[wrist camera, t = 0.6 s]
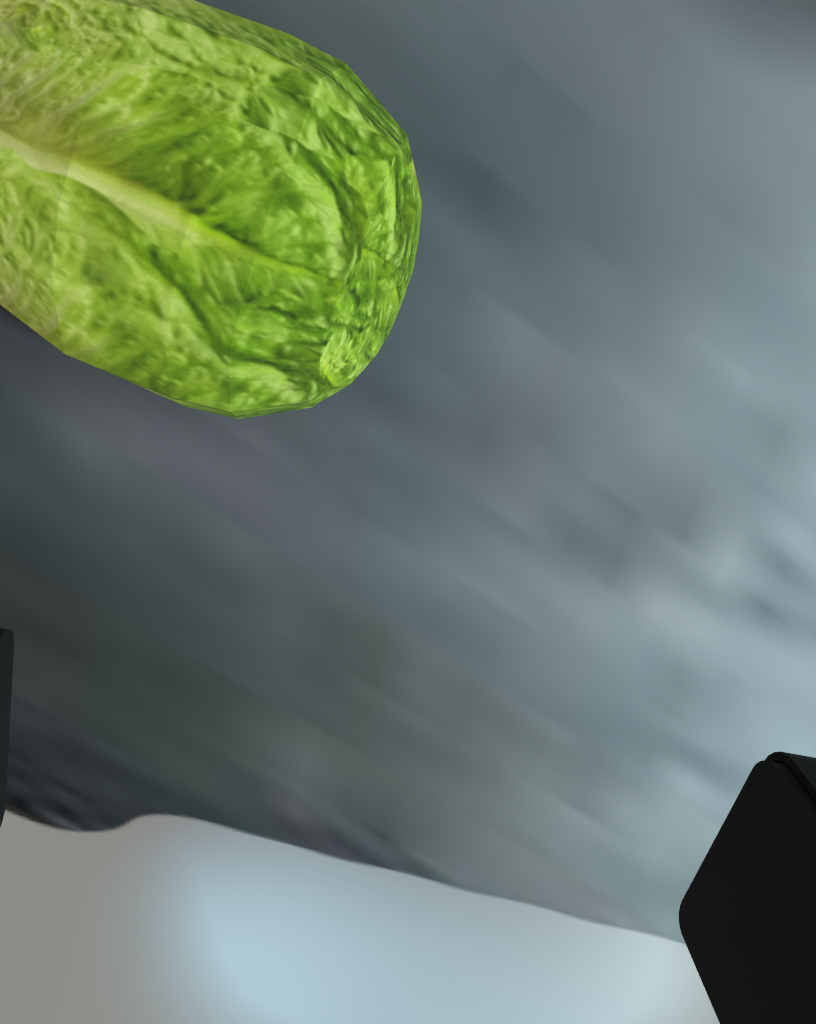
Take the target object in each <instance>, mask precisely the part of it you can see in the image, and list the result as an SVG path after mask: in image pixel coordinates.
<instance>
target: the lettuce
mask: <svg viewBox="0 0 816 1024" xmlns="http://www.w3.org/2000/svg"><path fill="white" fill-rule="evenodd" d="M421 212H422V200H421V196H420V191H419V186H418V182H417V177H416V173H415V168H414V164H413V159H412V154H411V150H410V145H409V141H408V136H407V134H406V133H405V132H404V131H403V129H402V128H401V127H400V126H399V125H398V124H397V122H396V121H395V120H394V119H393V118H392V116H391V115H390V114H389V113H388V112H387V111H386V109H385V108H384V107H383V106H382V105H381V104H380V102H379V101H378V100H377V99H376V98H375V96H374V95H373V94H372V93H371V92H370V91H369V89H368V88H367V87H366V86H365V85H364V84H363V82H362V81H361V80H360V79H359V78H358V76H357V75H356V74H355V73H354V72H353V71H352V69H351V68H350V67H349V66H348V65H347V64H346V63H344V62H342V61H340V60H338V59H336V58H335V57H333V56H331V55H329V54H327V53H325V52H323V51H321V50H319V49H317V48H315V47H313V46H311V45H309V44H307V43H305V42H303V41H301V40H300V39H298V38H296V37H294V36H292V35H290V34H288V33H285V32H282V31H279V30H276V29H274V28H271V27H268V26H265V25H262V24H259V23H257V22H254V21H251V20H248V19H245V18H242V17H240V16H237V15H234V14H231V13H228V12H225V11H223V10H220V9H217V8H214V7H211V6H208V5H205V4H203V3H200V2H197V1H194V0H0V305H1V306H3V307H4V308H5V309H7V310H8V311H9V312H11V313H12V314H13V315H15V316H16V317H17V318H18V319H20V320H21V321H22V322H24V323H25V324H26V325H28V326H29V327H30V328H32V329H33V330H34V331H35V332H37V333H38V334H39V335H41V336H42V337H43V338H45V339H46V340H47V341H49V342H50V343H51V344H53V345H54V346H55V347H56V348H58V349H59V350H60V351H62V352H63V353H64V354H67V355H69V356H71V357H74V358H76V359H78V360H81V361H83V362H86V363H88V364H90V365H93V366H95V367H98V368H100V369H102V370H105V371H107V372H109V373H112V374H114V375H117V376H119V377H121V378H123V379H125V380H128V381H130V382H132V383H134V384H136V385H139V386H141V387H143V388H145V389H147V390H150V391H152V392H154V393H156V394H158V395H161V396H163V397H165V398H167V399H170V400H172V401H174V402H176V403H178V404H181V405H183V406H186V407H190V408H194V409H199V410H203V411H207V412H211V413H216V414H220V415H224V416H228V417H232V418H237V419H241V418H247V417H254V416H260V415H266V414H272V413H279V412H285V411H291V410H297V409H303V408H310V407H313V406H314V405H316V404H318V403H319V402H321V401H323V400H324V399H326V398H328V397H329V396H331V395H333V394H334V393H336V392H338V391H339V390H341V389H343V388H345V387H346V386H348V385H350V384H351V383H352V382H353V381H354V379H355V378H356V377H357V376H358V375H359V374H360V373H361V372H362V371H363V370H364V368H365V367H366V366H367V365H368V364H369V363H370V362H371V361H372V360H373V359H374V357H375V356H376V355H377V353H378V352H379V350H380V348H381V346H382V345H383V343H384V341H385V340H386V338H387V336H388V335H389V333H390V331H391V328H392V326H393V324H394V322H395V319H396V317H397V314H398V311H399V309H400V306H401V304H402V301H403V298H404V295H405V293H406V290H407V287H408V284H409V282H410V278H411V275H412V272H413V268H414V262H415V257H416V252H417V247H418V240H419V231H420V222H421Z"/></svg>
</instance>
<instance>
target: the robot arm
mask: <svg viewBox="0 0 816 1024" xmlns="http://www.w3.org/2000/svg"><path fill="white" fill-rule="evenodd" d="M13 654H14V635H13V632H12V631H11V630H9V629H3V628H0V826H1V823H2V820H3V816H4V812H5V805H6V787H7V768H8V749H9V730H10V711H11V692H12V673H13ZM679 924H680V929H681V933H682V936H683V938H684V940H685V943H686V945H687V947H688V950H689V952H690V954H691V957H692V959H693V961H694V964H695V966H696V968H697V971H698V973H699V976H700V978H701V980H702V983H703V985H704V987H705V989H706V992H707V994H708V996H709V999H710V1001H711V1004H712V1006H713V1008H714V1010H715V1013H716V1015H717V1017H718V1020H719V1022H720V1024H816V758H813V757H807V756H802V755H796V754H790V753H785V752H774V753H772V754H771V755H769V756H768V757H767V758H766V759H765V761H760V762H758V763H757V764H756V765H755V766H754V768H753V769H752V771H751V773H750V775H749V777H748V778H747V780H746V782H745V784H744V786H743V788H742V790H741V792H740V793H739V795H738V797H737V799H736V801H735V803H734V805H733V806H732V808H731V810H730V812H729V814H728V816H727V818H726V820H725V821H724V823H723V825H722V827H721V829H720V831H719V833H718V835H717V836H716V838H715V840H714V842H713V844H712V846H711V848H710V849H709V851H708V853H707V855H706V857H705V859H704V861H703V863H702V864H701V866H700V868H699V870H698V872H697V874H696V876H695V877H694V879H693V881H692V883H691V885H690V887H689V889H688V891H687V892H686V894H685V896H684V898H683V900H682V902H681V905H680V910H679Z"/></svg>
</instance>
